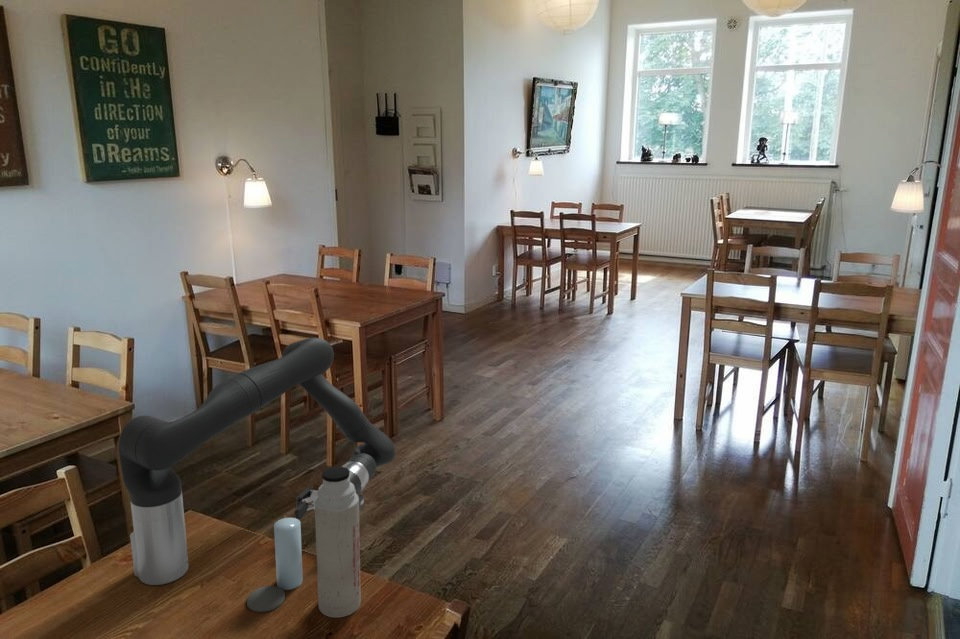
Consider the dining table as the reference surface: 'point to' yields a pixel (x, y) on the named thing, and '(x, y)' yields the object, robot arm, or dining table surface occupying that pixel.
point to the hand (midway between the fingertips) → (315, 518)
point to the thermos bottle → (337, 544)
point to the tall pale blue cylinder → (288, 553)
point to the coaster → (265, 599)
